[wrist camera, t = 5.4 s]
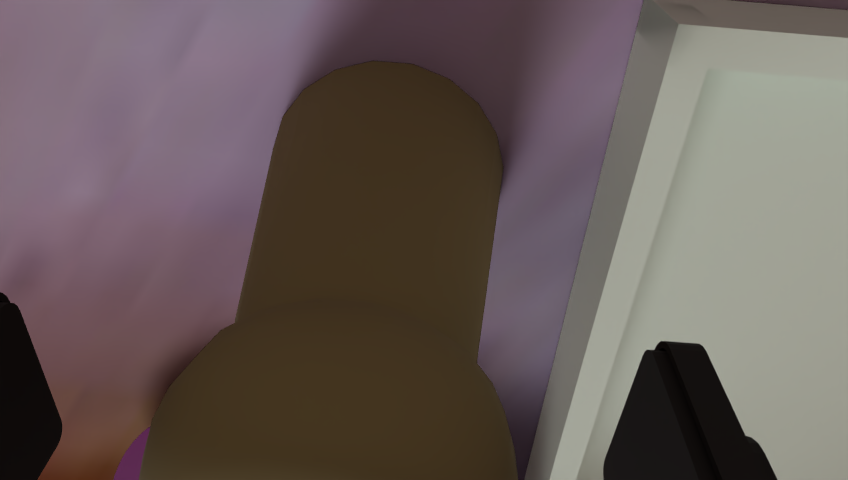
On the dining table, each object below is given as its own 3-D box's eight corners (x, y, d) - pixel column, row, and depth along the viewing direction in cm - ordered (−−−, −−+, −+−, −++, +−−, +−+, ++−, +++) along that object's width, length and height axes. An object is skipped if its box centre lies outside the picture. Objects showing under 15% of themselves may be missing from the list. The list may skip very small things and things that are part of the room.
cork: (262, 243, 18) (72, 673, 9) (286, 33, 15) (27, 376, 6) (468, 285, 19) (484, 731, 10) (534, 93, 16) (652, 490, 6)
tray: (892, 554, 25) (932, 621, 23) (512, 526, 25) (517, 590, 23) (1315, 49, 14) (1460, 88, 12) (645, -7, 14) (678, 23, 12)
